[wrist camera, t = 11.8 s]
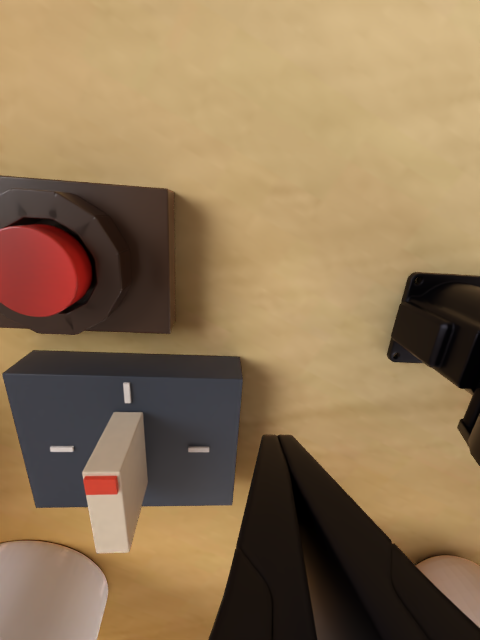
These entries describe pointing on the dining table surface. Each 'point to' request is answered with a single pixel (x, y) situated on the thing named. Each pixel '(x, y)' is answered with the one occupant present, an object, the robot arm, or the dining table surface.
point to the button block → (103, 252)
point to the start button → (42, 269)
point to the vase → (456, 582)
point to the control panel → (128, 396)
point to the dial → (117, 482)
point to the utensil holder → (49, 593)
